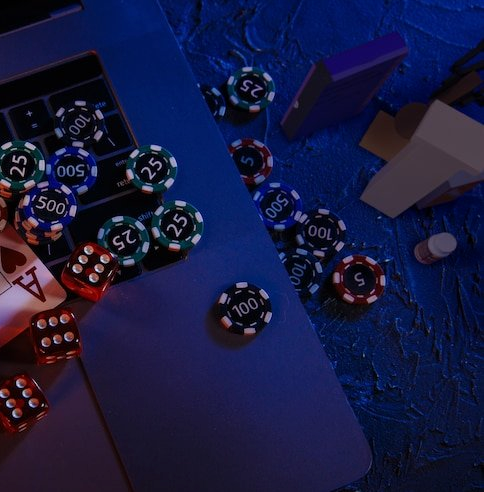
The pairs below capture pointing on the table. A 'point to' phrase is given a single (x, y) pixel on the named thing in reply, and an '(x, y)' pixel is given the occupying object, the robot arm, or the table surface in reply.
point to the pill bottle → (435, 248)
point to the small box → (450, 189)
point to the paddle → (415, 111)
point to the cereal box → (343, 85)
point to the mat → (383, 137)
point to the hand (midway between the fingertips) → (439, 102)
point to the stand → (428, 160)
